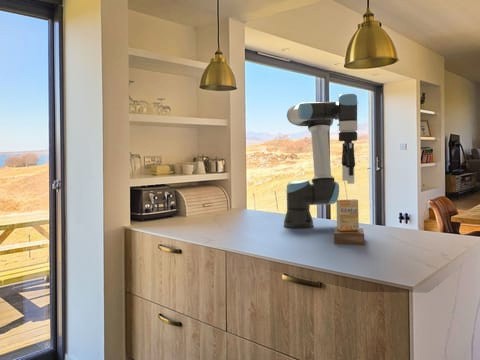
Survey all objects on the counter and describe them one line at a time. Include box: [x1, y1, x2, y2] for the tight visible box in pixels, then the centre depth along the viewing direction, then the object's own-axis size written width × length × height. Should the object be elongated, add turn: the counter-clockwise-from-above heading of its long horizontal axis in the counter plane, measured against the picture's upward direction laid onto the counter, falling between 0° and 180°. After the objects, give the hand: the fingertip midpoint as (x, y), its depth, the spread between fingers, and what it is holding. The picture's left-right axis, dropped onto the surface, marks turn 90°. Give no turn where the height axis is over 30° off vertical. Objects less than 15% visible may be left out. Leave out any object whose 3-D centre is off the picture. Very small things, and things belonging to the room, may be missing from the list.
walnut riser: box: [333, 227, 365, 246], centre depth 172 cm, size 12×12×5 cm
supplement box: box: [335, 198, 360, 231], centre depth 172 cm, size 8×5×13 cm, turn 92°
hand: (348, 182), depth 171 cm, fingers open, 13 cm apart
